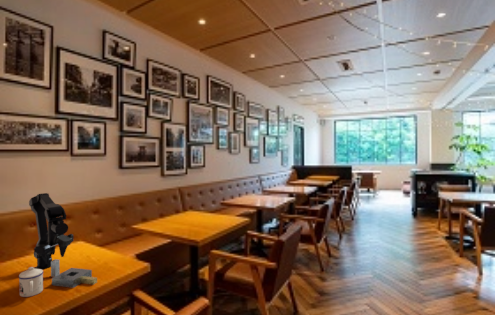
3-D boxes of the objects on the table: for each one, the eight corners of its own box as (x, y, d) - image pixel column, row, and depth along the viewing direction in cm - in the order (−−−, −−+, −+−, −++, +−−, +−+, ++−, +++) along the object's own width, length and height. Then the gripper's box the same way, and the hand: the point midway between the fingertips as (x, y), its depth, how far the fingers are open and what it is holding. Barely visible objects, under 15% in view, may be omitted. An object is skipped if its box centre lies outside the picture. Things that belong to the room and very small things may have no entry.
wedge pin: (51, 276, 148) (50, 261, 148) (55, 274, 151) (55, 259, 150) (55, 276, 148) (55, 261, 147) (59, 274, 150) (59, 259, 150)
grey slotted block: (51, 285, 139) (51, 278, 139) (71, 274, 151) (71, 267, 151) (86, 289, 135) (86, 282, 135) (103, 277, 147) (103, 271, 147)
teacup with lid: (19, 291, 133) (18, 266, 133) (43, 285, 139) (43, 261, 138) (18, 302, 123) (17, 276, 123) (44, 296, 129) (43, 270, 128)
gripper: (52, 237, 138) (52, 269, 138) (82, 226, 156) (82, 254, 157) (33, 235, 140) (33, 267, 140) (64, 225, 158) (64, 253, 159)
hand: (55, 260), depth 149 cm, fingers open, 9 cm apart
